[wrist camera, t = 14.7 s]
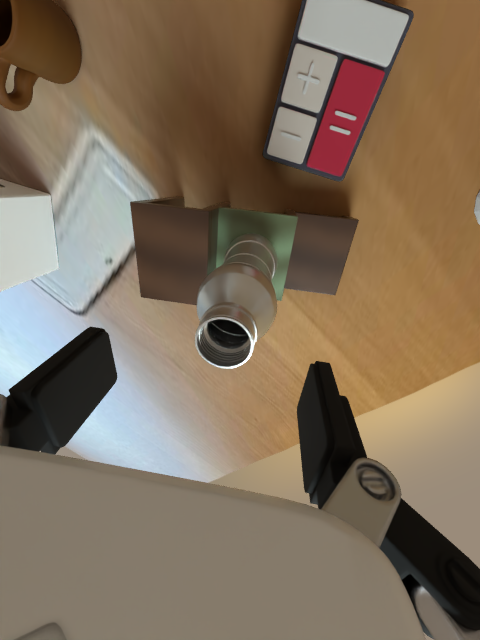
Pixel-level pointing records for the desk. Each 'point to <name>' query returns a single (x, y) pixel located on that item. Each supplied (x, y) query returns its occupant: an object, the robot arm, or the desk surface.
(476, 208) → the french press
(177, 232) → the shelf
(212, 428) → the desk surface
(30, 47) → the mug
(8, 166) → the desk surface
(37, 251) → the gable box
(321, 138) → the calculator
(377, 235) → the desk surface
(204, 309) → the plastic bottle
